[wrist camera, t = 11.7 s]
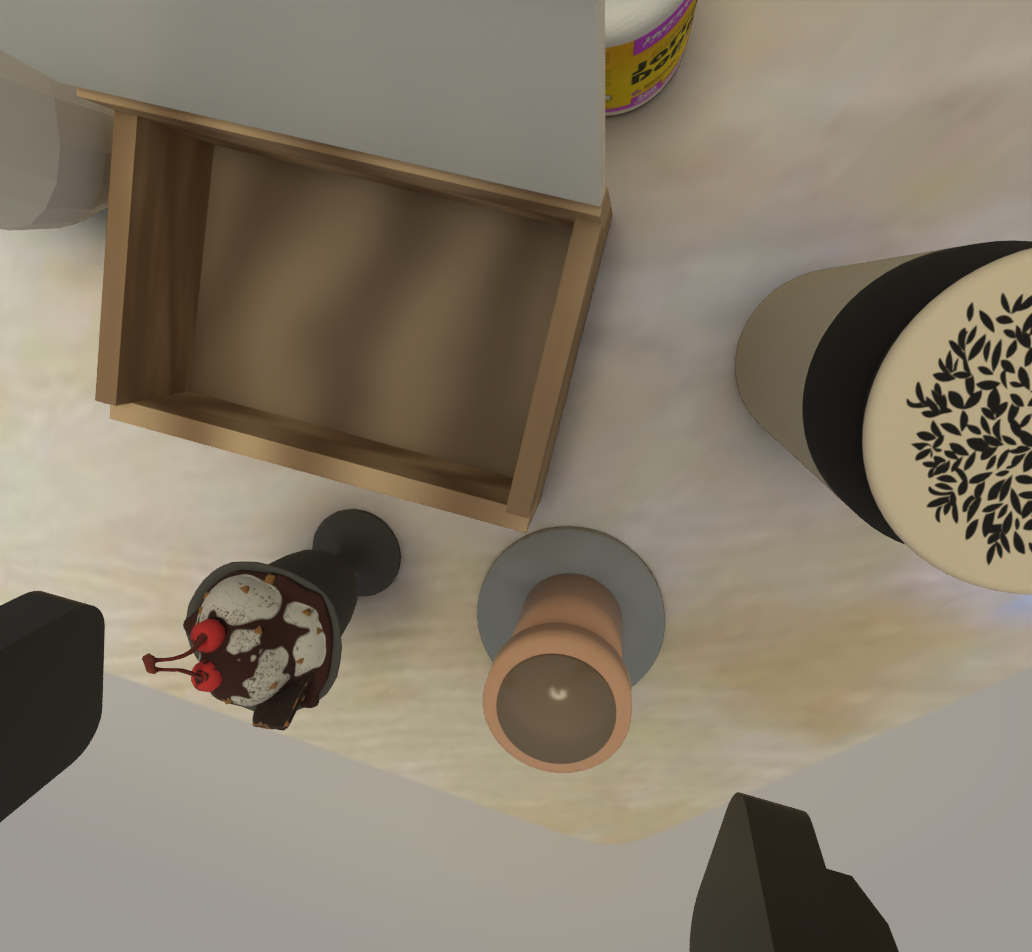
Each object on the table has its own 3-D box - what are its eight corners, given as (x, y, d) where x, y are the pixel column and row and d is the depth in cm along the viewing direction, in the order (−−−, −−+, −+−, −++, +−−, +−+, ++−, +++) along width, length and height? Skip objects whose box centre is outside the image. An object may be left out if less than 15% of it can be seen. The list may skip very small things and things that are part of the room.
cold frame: (612, 214, 32) (607, 186, 24) (539, 501, 35) (515, 556, 28) (204, 120, 33) (78, 66, 26) (176, 403, 37) (59, 429, 30)
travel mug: (744, 457, 33) (868, 625, 16) (725, 287, 32) (840, 269, 14) (925, 433, 32) (1278, 588, 15) (915, 252, 30) (1300, 185, 13)
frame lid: (599, 211, 23) (606, 184, 23) (590, -49, 9) (607, -123, 9) (58, 87, 25) (62, 60, 25) (-624, -287, 11) (-623, -350, 11)
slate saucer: (687, 555, 35) (688, 561, 34) (635, 717, 37) (635, 726, 37) (502, 504, 36) (499, 509, 35) (463, 667, 38) (460, 674, 38)
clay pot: (644, 584, 35) (649, 667, 27) (613, 687, 36) (609, 794, 28) (528, 551, 35) (499, 624, 27) (502, 655, 37) (467, 751, 29)
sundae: (305, 479, 37) (101, 592, 23) (426, 511, 36) (294, 647, 22) (289, 591, 39) (91, 761, 24) (404, 623, 38) (270, 816, 24)
